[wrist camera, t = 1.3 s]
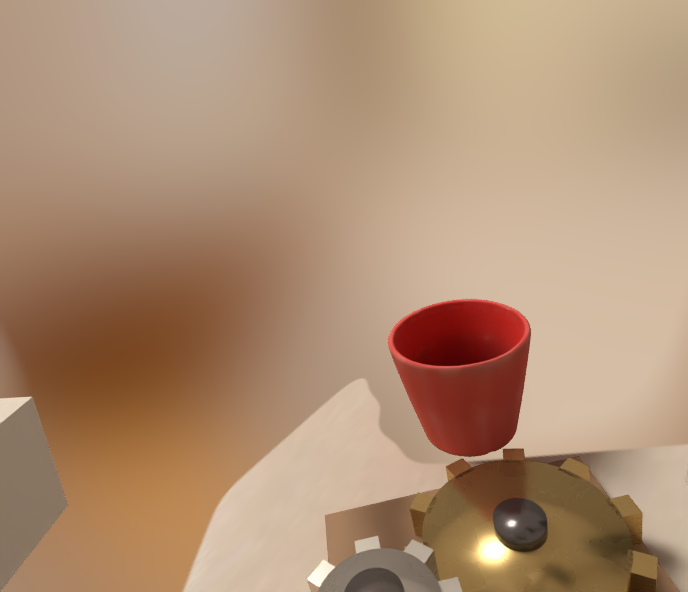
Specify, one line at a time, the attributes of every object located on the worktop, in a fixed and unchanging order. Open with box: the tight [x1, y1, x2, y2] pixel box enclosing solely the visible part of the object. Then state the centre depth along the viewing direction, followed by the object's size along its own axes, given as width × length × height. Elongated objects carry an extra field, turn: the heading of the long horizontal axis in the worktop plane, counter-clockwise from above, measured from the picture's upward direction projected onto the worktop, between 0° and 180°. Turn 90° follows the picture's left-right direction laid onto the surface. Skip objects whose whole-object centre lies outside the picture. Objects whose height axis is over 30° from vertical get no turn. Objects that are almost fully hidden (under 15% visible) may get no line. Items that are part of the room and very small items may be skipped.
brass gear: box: [404, 449, 658, 592], centre depth 31 cm, size 14×14×4 cm
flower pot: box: [388, 299, 531, 457], centre depth 43 cm, size 11×11×10 cm
